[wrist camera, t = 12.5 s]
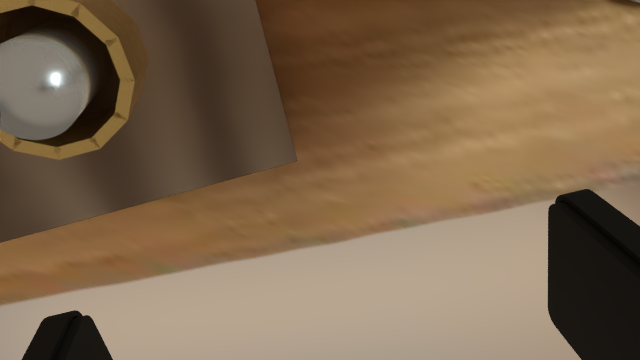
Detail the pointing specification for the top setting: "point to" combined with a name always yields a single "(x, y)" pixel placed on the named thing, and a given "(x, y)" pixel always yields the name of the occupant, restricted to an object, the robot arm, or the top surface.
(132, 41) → the brass ring
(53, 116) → the piston post
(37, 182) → the walnut stand
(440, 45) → the top surface
